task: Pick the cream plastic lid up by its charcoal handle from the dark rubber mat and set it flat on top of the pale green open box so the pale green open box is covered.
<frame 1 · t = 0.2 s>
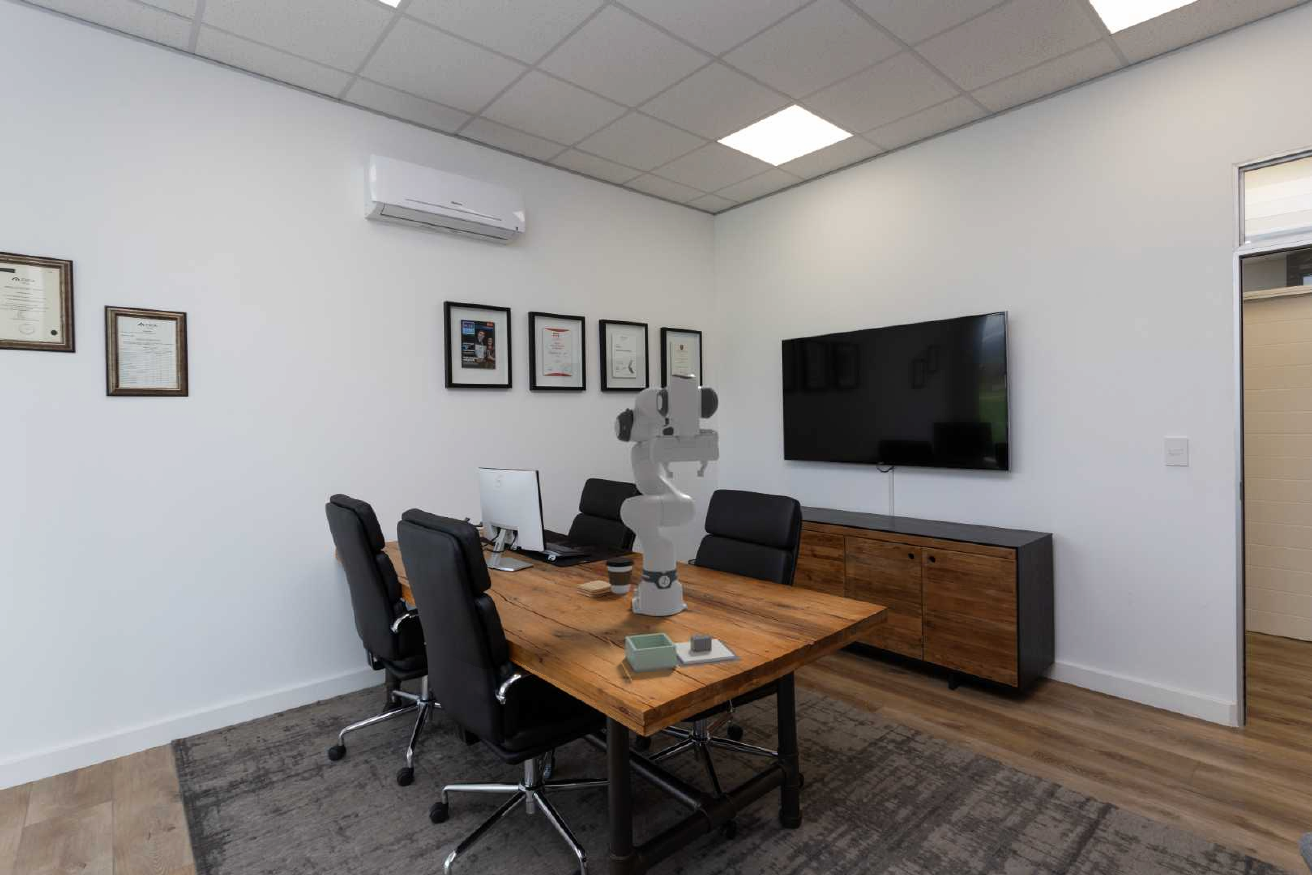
hand: (685, 477, 187), 47 cm above the table, tool pointing down, fingers open, 8 cm apart
coffee cup: (620, 592, 244), on the table
mat: (701, 653, 177), on the table
lid: (701, 652, 177), resting on mat
pale green open box: (650, 663, 170), on the table
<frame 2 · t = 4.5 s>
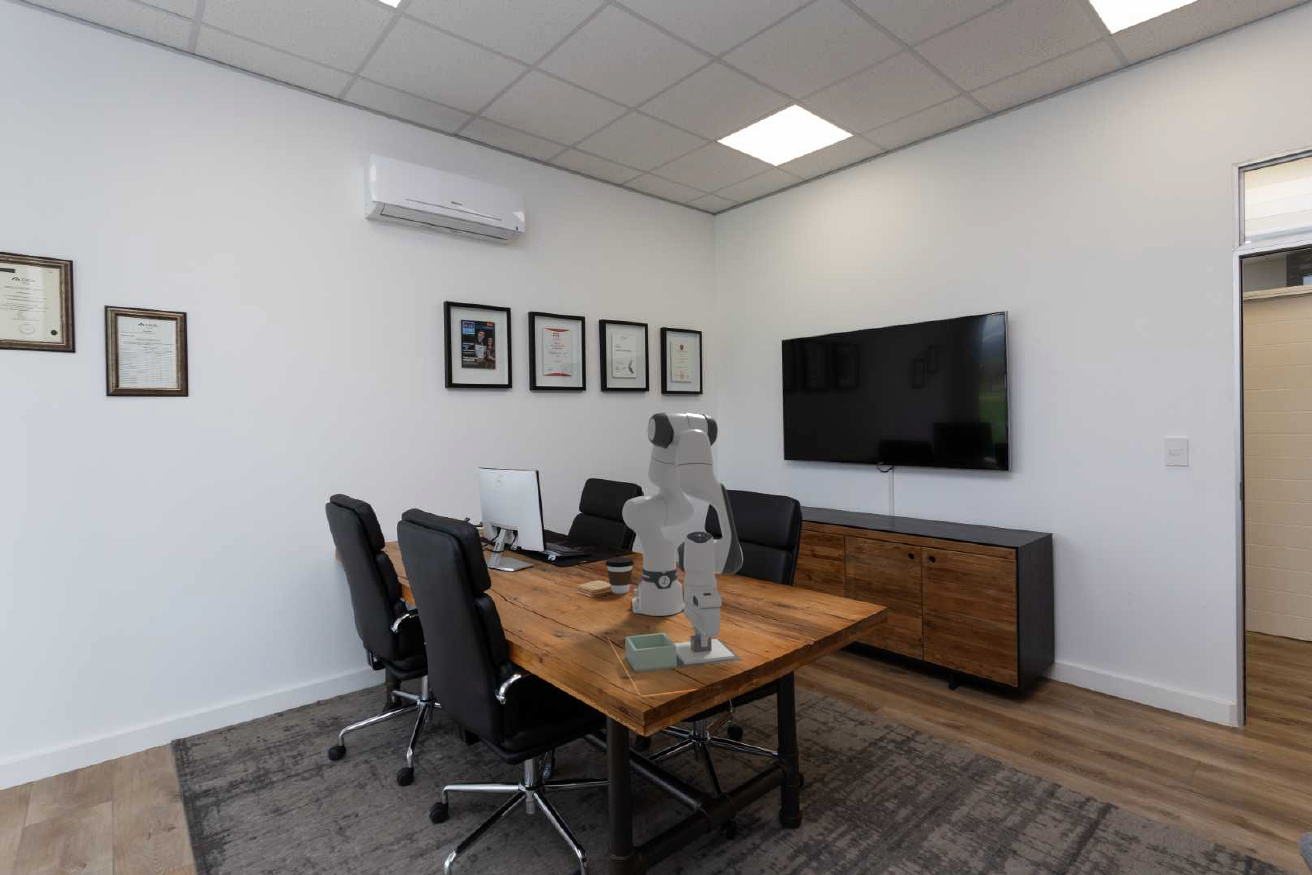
hand: (701, 643, 177), 3 cm above the table, tool pointing down, fingers closed on lid, 3 cm apart
lid: (701, 652, 177), resting on mat, touching gripper
everything else where it was.
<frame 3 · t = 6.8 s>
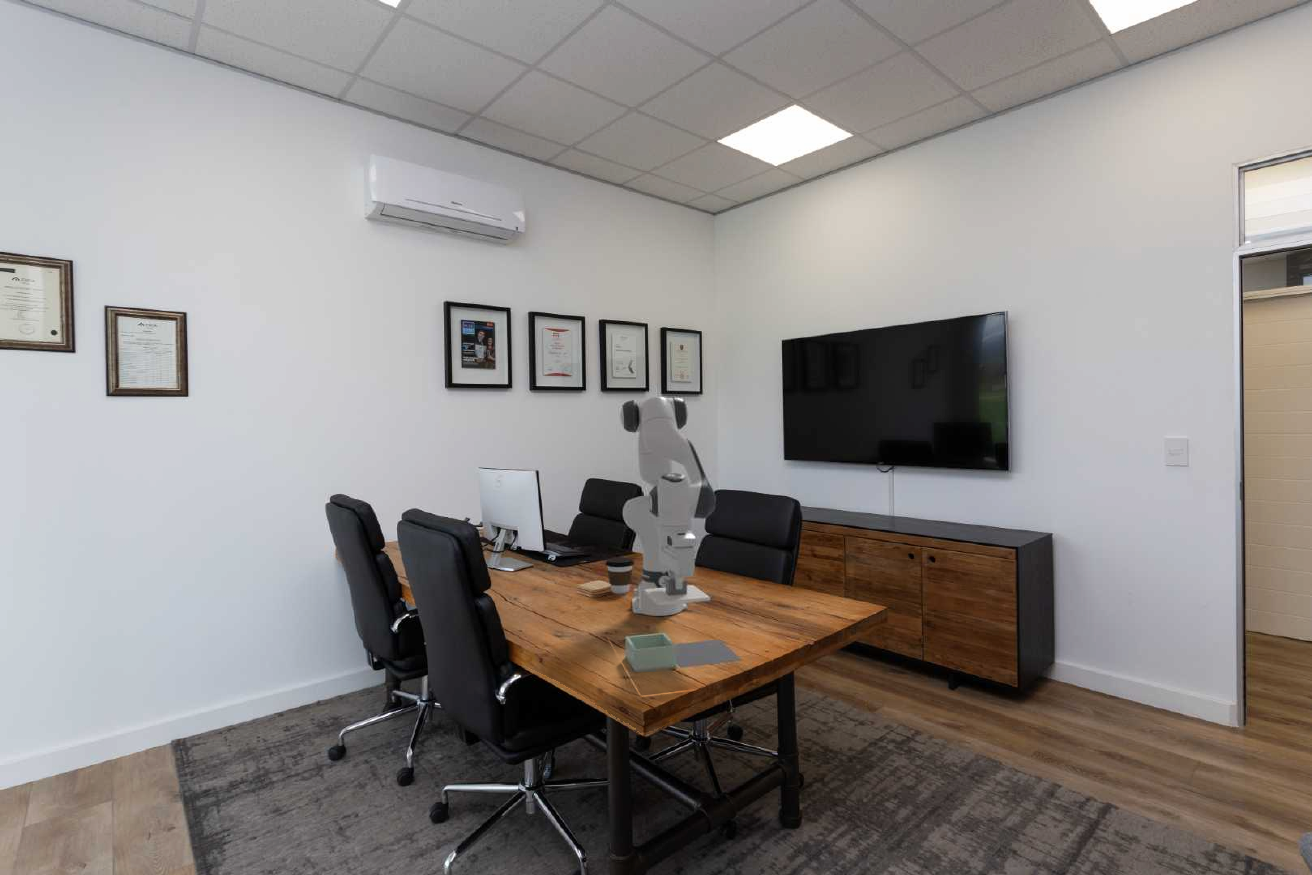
hand: (676, 586, 173), 19 cm above the table, tool pointing down, fingers closed on lid, 3 cm apart
lid: (676, 596, 173), point 17 cm above the table, touching gripper
everything else where it was.
when the fingers open (10 cm above the table, at t = 9.6 s): lid drops 2 cm, resting on pale green open box.
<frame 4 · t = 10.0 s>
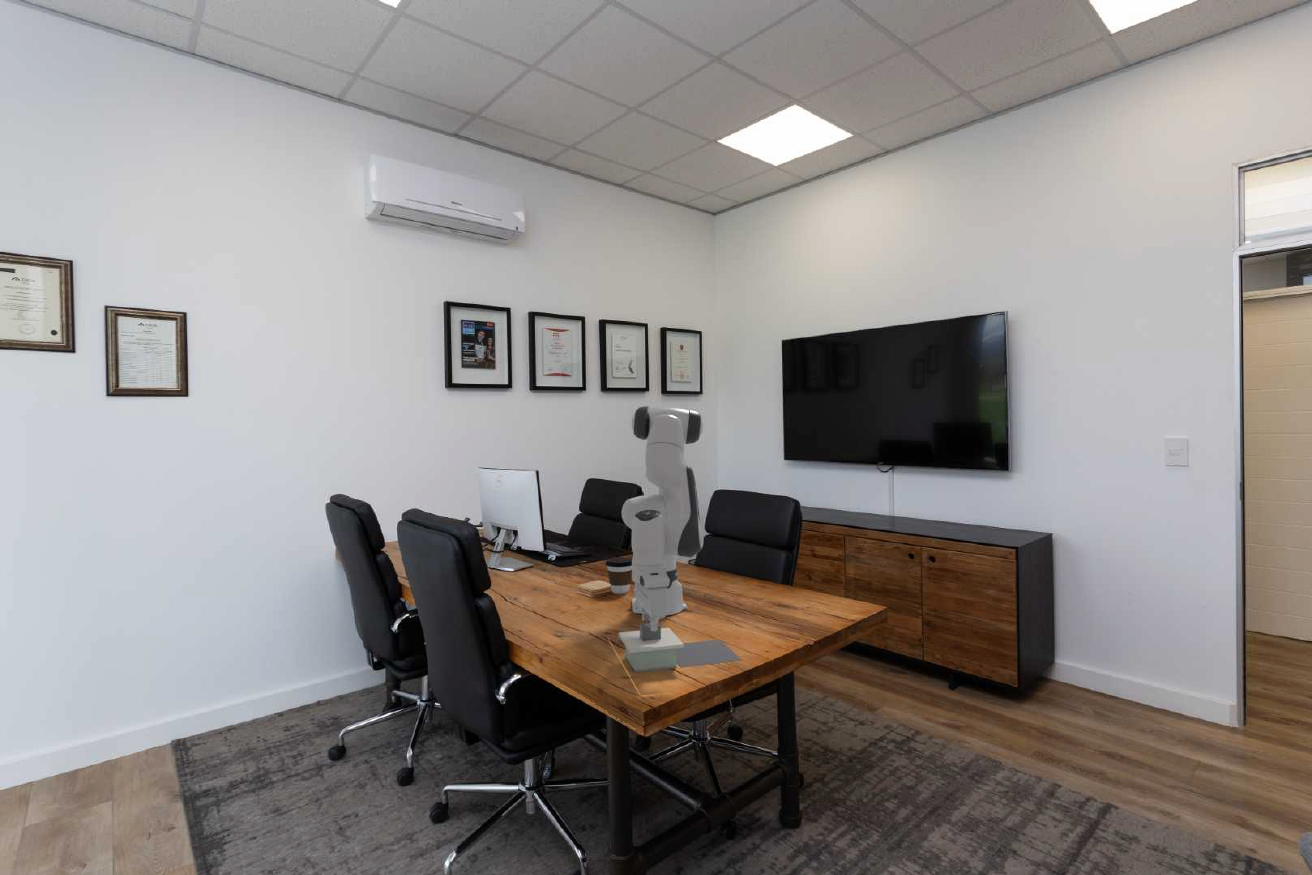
hand: (649, 625, 170), 10 cm above the table, tool pointing down, fingers open, 6 cm apart
lid: (650, 641, 170), point 6 cm above the table, touching pale green open box
everything else where it was.
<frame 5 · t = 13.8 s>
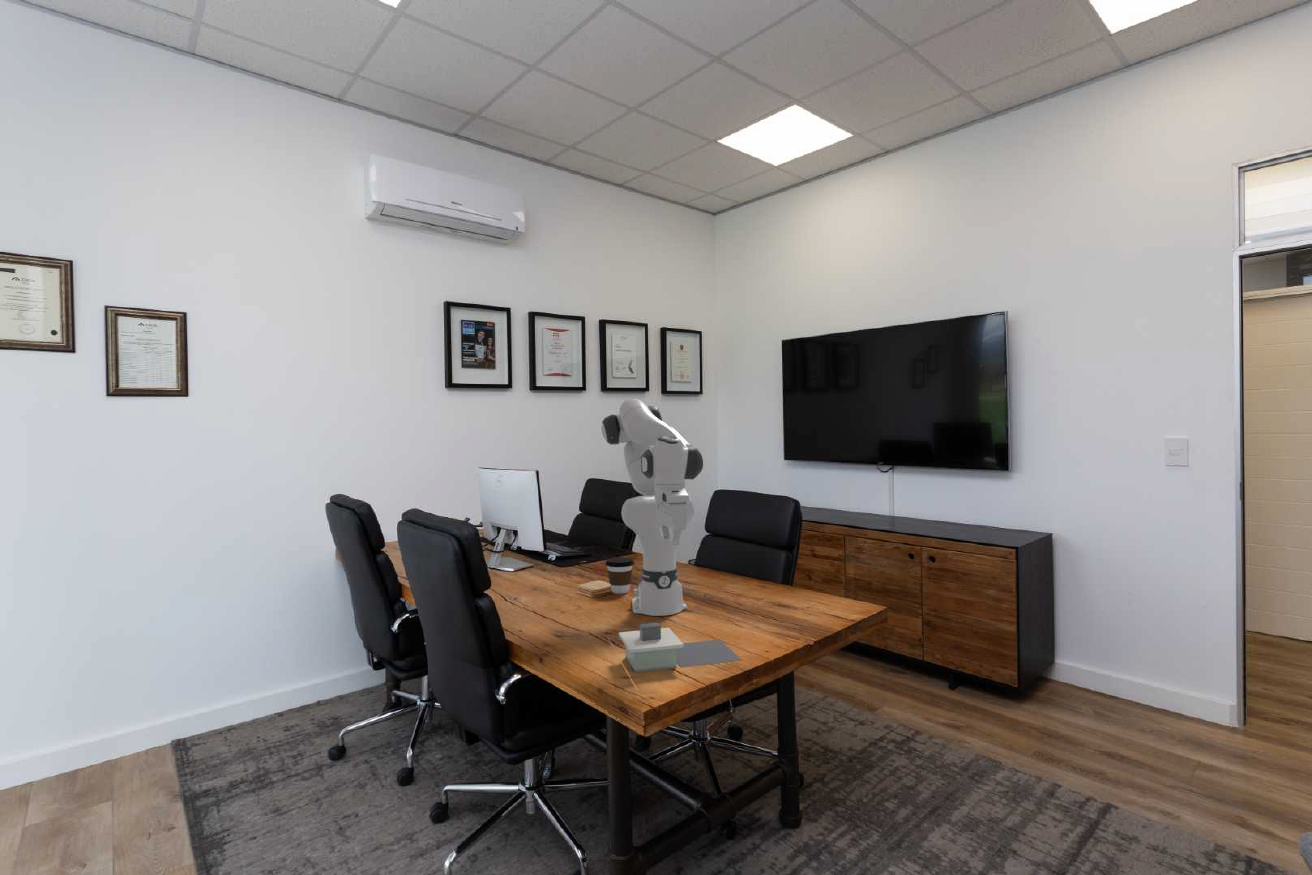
hand: (670, 541, 186), 29 cm above the table, tool pointing down, fingers open, 8 cm apart
nothing on the table moved.
at the end: lid 0.1 cm off-centre on the pale green open box, point 6.0 cm above the pale green open box's base; lid tilted 0°; the gripper is holding nothing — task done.
